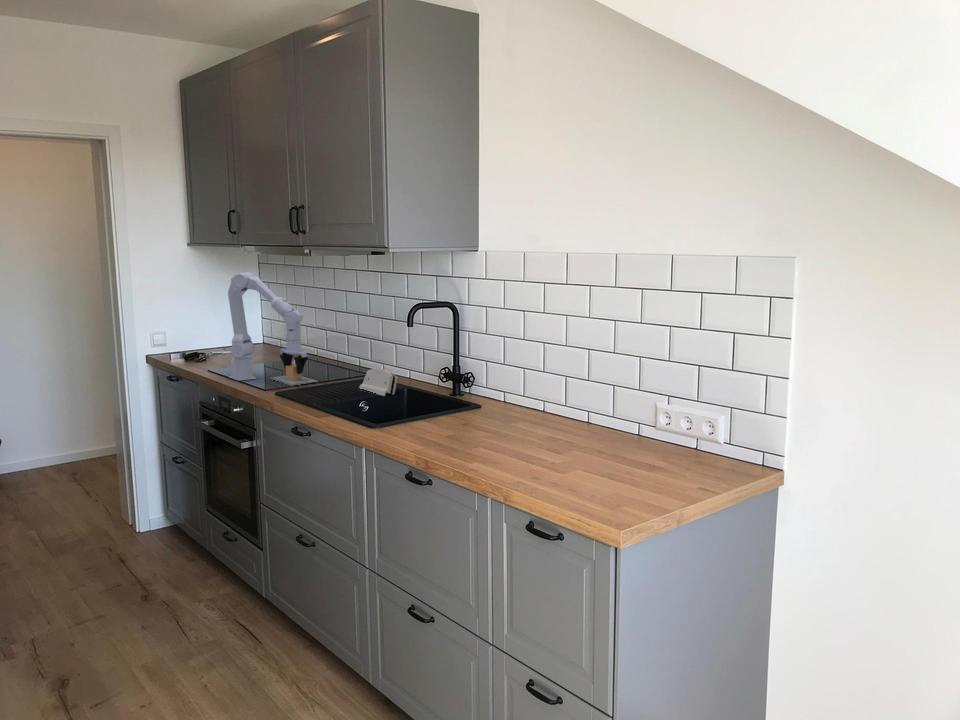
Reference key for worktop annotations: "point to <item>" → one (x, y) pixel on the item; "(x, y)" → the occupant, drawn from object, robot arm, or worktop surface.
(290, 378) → the tan wooden cube
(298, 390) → the worktop surface
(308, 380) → the board
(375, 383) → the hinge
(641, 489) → the worktop surface
